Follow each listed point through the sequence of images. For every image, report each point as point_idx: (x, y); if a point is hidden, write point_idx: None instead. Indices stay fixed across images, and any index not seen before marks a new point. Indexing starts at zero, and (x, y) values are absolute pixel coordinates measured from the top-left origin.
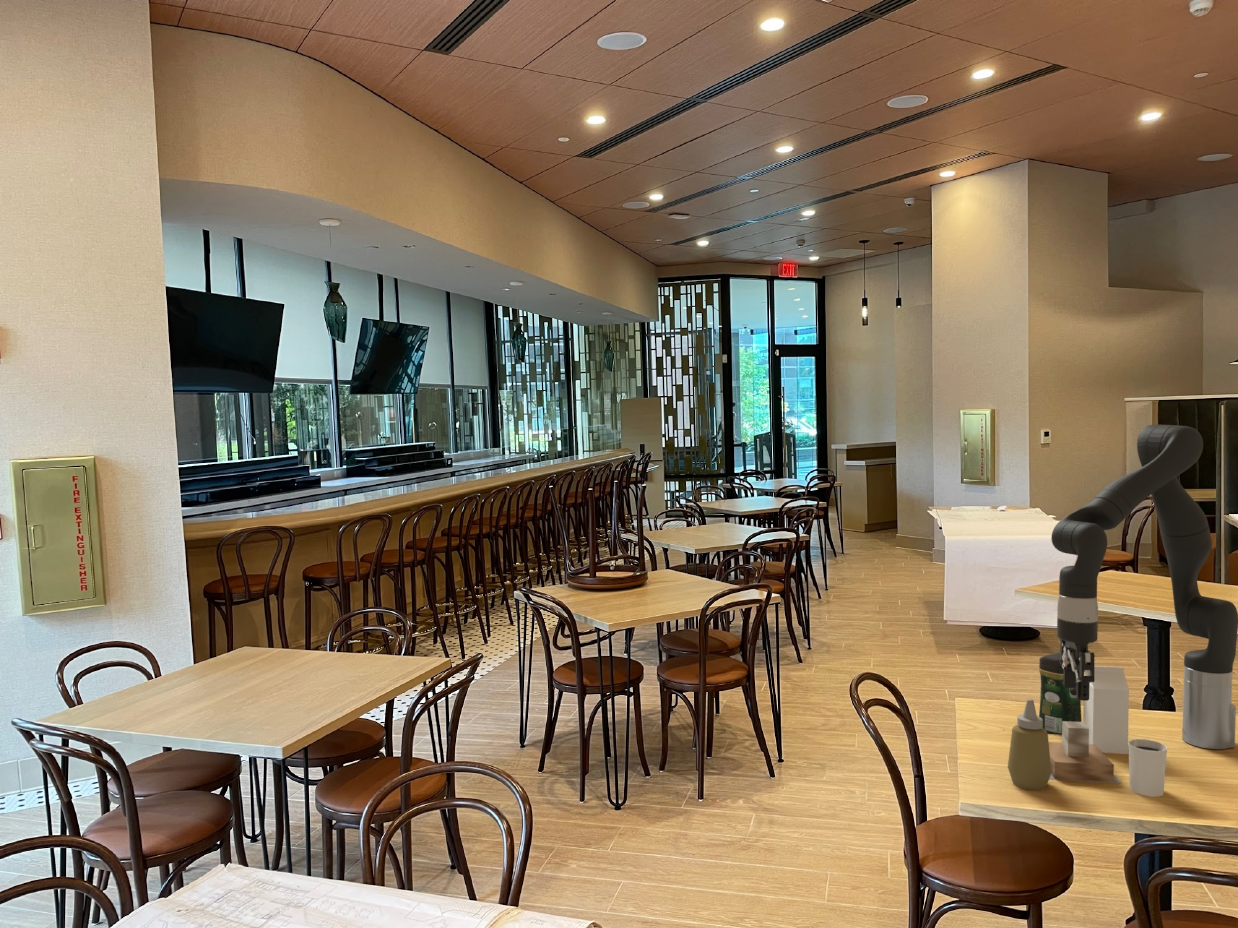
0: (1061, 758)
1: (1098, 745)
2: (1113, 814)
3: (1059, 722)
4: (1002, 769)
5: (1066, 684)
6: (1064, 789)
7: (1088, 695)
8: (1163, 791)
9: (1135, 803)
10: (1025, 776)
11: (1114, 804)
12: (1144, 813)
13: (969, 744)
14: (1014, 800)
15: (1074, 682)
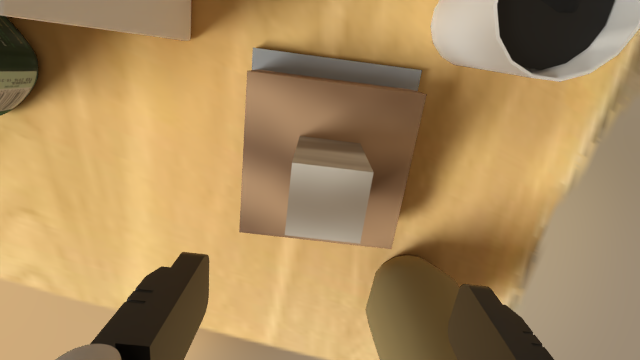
0: (367, 222)
1: (179, 20)
2: (563, 169)
3: (3, 78)
4: (307, 298)
5: (201, 311)
6: (421, 216)
7: (499, 307)
8: None
9: (519, 86)
10: None
11: (515, 141)
12: (575, 94)
13: None
14: None
15: (194, 278)
